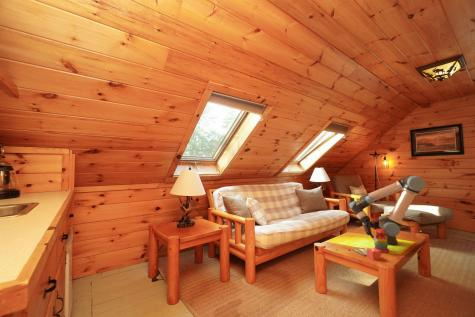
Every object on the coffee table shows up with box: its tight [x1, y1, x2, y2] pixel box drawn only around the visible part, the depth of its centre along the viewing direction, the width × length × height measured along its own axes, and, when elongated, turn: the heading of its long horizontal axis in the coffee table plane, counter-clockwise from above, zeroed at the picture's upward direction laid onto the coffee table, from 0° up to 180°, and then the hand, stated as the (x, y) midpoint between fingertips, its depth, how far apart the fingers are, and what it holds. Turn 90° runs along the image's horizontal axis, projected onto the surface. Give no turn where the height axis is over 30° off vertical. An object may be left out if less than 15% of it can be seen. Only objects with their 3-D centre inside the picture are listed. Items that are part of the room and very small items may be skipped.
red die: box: [366, 247, 381, 261], centre depth 167 cm, size 6×6×6 cm
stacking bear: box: [373, 229, 391, 254], centre depth 181 cm, size 11×10×18 cm
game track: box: [351, 247, 382, 257], centre depth 178 cm, size 15×13×1 cm
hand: (381, 240), depth 180 cm, fingers open, 13 cm apart
